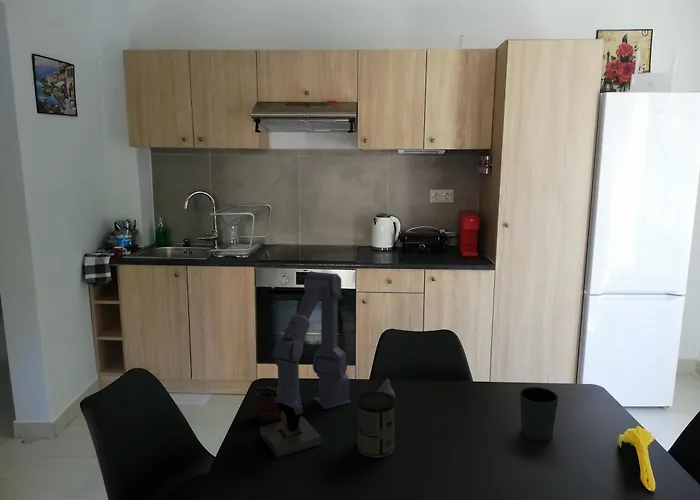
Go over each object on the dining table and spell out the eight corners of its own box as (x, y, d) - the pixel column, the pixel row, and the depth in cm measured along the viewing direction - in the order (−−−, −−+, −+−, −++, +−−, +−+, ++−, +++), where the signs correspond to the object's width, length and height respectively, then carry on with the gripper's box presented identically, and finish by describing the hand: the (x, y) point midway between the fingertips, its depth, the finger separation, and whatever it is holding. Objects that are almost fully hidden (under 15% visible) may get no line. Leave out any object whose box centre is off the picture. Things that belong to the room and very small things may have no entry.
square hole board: (302, 423, 156) (302, 416, 156) (321, 444, 145) (320, 436, 144) (260, 435, 150) (260, 426, 149) (276, 457, 139) (276, 449, 138)
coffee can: (363, 435, 150) (363, 388, 147) (398, 441, 146) (399, 394, 144) (351, 454, 140) (351, 405, 138) (389, 461, 137) (389, 411, 134)
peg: (294, 430, 150) (294, 407, 149) (300, 436, 146) (299, 413, 145) (281, 433, 148) (280, 411, 147) (286, 440, 145) (286, 417, 143)
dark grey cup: (556, 428, 152) (559, 390, 150) (554, 446, 143) (556, 405, 141) (520, 421, 156) (522, 384, 154) (515, 438, 147) (517, 398, 145)
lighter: (282, 415, 161) (281, 385, 159) (280, 421, 158) (279, 390, 156) (257, 414, 162) (255, 384, 160) (254, 419, 159) (252, 389, 157)
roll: (380, 373, 163) (397, 376, 160) (380, 409, 165) (397, 412, 163) (373, 380, 157) (391, 383, 155) (373, 418, 159) (391, 421, 157)
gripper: (265, 374, 149) (267, 419, 151) (284, 395, 136) (286, 443, 138) (289, 369, 152) (290, 413, 154) (309, 389, 139) (310, 436, 142)
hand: (289, 427), depth 147 cm, fingers closed on peg, 4 cm apart
